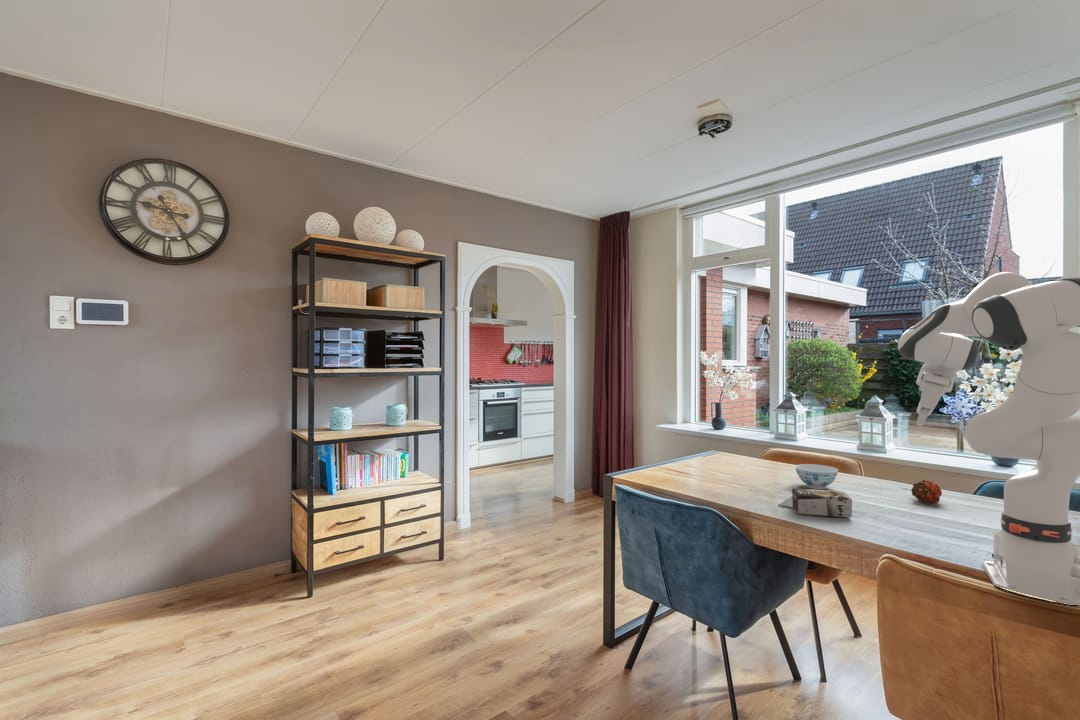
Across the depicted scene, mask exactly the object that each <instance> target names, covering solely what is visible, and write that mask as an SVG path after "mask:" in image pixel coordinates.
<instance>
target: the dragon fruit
mask: <svg viewBox="0 0 1080 720" xmlns="http://www.w3.org/2000/svg"><path fill="white" fill-rule="evenodd" d="M940 487H941V486H939V484H936V483H935V482H934V481H932V480H929V479H927V480H924V479H923V480H921V481H918V482H917V483H916V482H915V483H913V484H912V487H911V490H910V492H911V495H912V496H913V497H915V498H916V499H917V500H918V501H919V500H921V501H920V502H922V503H925V504H930V503H931V502H933V503H937V504H938V503H939V502H940V500H941V499H940V497H941V496H942V493H943V492H942V489H941V488H940Z"/></svg>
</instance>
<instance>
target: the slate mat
mask: <svg viewBox="0 0 1080 720" xmlns="http://www.w3.org/2000/svg"><path fill="white" fill-rule="evenodd" d="M777 506H778V507H779V506H782V507H781V508H784V507H787V508H786V509H790V508H792V509H791V510H795V508H794V507H793V500H792V495H791V496H790V497H788V498H786V499H785V500H784V501H782V502H780V503H778V505H777Z"/></svg>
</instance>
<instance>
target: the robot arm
mask: <svg viewBox="0 0 1080 720" xmlns="http://www.w3.org/2000/svg"><path fill="white" fill-rule="evenodd" d="M1073 328H1080V277H1070V278H1069V277H1068V278H1059V279H1056V278H1055V279H1049V280H1048V281H1047V282H1043V283H1038V284H1032V283H1031V282H1030V280H1028V279H1027V278H1026V277H1025V276H1024V275H1022V274H1019V273H1017V272H1011V271H1010V272H1008V271H1007V272H1006V271H1005V272H1003V271H1002V272H998V273H995V274H992V275H991V276H989V277H987V278H985V279H984V280H983V281H981V282H980V283H979V284H977V286H976V287H974V288H973V290H971V291H970V293H968V295H967V296H966V297H964V298H962V299H960V300H957V301H954V302H950V303H947V304H942V305H940V306H938V307H937V308H935V309H934V310H932V311H931V312H930V313H928V314H927V315H926V316H925V317H924V318H922V319H921V320H920V321H919V322H917V323H916V324H915V325H913V326H911V327H909V328H907V329H906V330H905V331H904V332H903V333H902V334H901V336H900V338H899V340H898V343H897V351H898V353H899V354H900V355H901V356H902V357H903V359H904V360H909V361H915V362H921V363H923V365H922V366H921V367H920V370H919V373H918V375H917V379H916V381H915V383H916V385H917V386H919V388H918V390H919V392H921V395H920V400H919V402H918V406H917V408H916V413H917V414H918V416H917V420H916V423H915V424H916V426H920V427H923V426H924V425H925V423H926V420H927V418H928V417H929V416H931V414H932V413H933V411H934V410H935V408H936V406H937V405H938V404H939V401H940V399H941V398H942V397H944V396H945V394H946V393H951V392H952V390H953V388H954V384H955V381H956V379H957V371H964V370H968V369H971V368H972V367H974V365H975V363H976V359H977V357H978V354H979V351H980V349H979V346H978V345H977V343H976V342H975V341H974V340H973V339H970V338H968V336H970V337H976V338H977V337H978V338H980V337H981V338H983V339H984V340H986V341H987V342H990V343H992V344H993V345H997V346H1000V347H1001V348H1002V349H1004V350H1007V351H1016V350H1018V349H1020V350H1021V353H1022V359H1021V363H1020V366H1019V369H1018V374H1017V376H1016V381H1015V384H1014V386H1013V389H1012V392H1011V393H1010V395H1009V396H1008V397H1007V398H1006V399H1005V400H1004V401H1003V402H1001V403H1000V404H998V405H997V406H995V407H993V408H991V409H989V410H988V411H987V410H986V411H984V412H982V413H978V414H975V415H973V416H972V417H971V418H970V419H968V421H967V423H966V425H965V427H964V428H965V429H964V437H965V439H966V442H967V444H968V446H969V447H970V448H971V449H972V450H973V451H975V453H978V454H982V455H987V456H991V457H996V458H1001V459H1015V460H1029V461H1030V460H1032V461H1036V464H1035V466H1034V467H1033V468H1031V469H1030V470H1029V471H1025V472H1022V473H1018V474H1015V475H1014V476H1013V475H1012V476H1011V477H1009V478H1008V479H1007V480H1006V481H1005V483H1004V485H1003V511H1002V512H1001V517H1000V523H1001V524H1000V525H1001V529H1000V530H999V531H998V532H996V533H994V534H993V548H992V549H993V552H992V554H991V557H992V560H985V561H983V562H982V567H983V569H984V571H985V572H986V575H988V577H989V580H990V581H991V582H992V585H993V586H994V585H997V586H999V587H1002V588H1005V589H1009V590H1013V591H1016V592H1020V593H1024V594H1028V595H1032V596H1037V597H1041V598H1045V599H1049V600H1053V601H1057V602H1061V603H1067V604H1072V605H1080V547H1077V546H1076V545H1075V544H1074V543H1073V542H1072V533H1073V530H1072V523H1071V522H1069V512H1070V511H1069V510H1070V499H1071V493H1072V489H1073V487H1074V484H1075V483H1076V481H1077V479H1078V478H1080V416H1079V415H1075V414H1076V413H1077V412H1078V411H1080V333H1078V332H1076V331H1075V332H1074V331H1072V330H1071V329H1073Z"/></svg>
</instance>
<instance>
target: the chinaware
mask: <svg viewBox="0 0 1080 720" xmlns="http://www.w3.org/2000/svg"><path fill="white" fill-rule="evenodd" d="M795 471H796V474H797V476H798V478H799V479H800V480H801V481H802V482H803V483H804V484H805V485H806V487H807V488H809V489H812V488H813V489H812V490H825V489H826V488H827V487H828V486H829V485H831V484H832V483H833V482H834V481H835V480H836V478H837V476H838V471H839V470H838V469H837V468H835V467H834V466H833V467H832V466H829V465H823V464H814V463H813V464H812V463H803V464H800V463H799V464H797V465H795Z"/></svg>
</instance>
